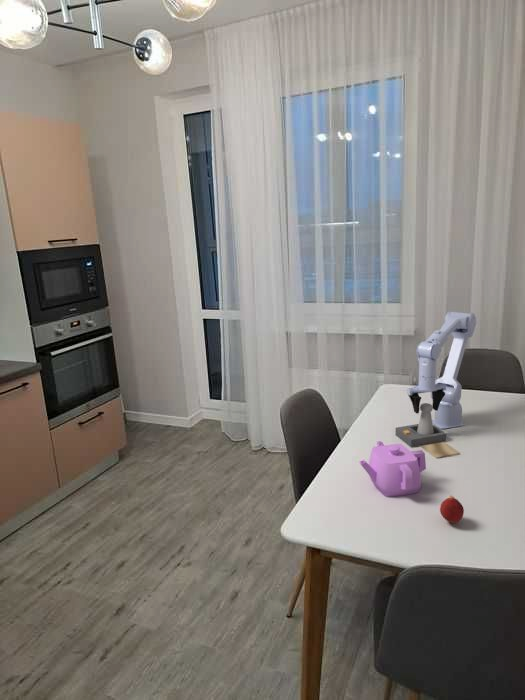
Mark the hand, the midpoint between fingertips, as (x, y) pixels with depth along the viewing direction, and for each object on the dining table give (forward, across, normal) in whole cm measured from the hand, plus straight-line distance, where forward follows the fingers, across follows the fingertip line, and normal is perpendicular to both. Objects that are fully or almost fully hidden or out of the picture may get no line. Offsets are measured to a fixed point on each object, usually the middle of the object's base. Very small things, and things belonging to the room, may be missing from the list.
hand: (425, 411), depth 177 cm
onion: (+11, +22, +47) cm, 53 cm away
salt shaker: (+11, 0, 0) cm, 11 cm away
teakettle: (+11, +27, +24) cm, 38 cm away
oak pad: (+10, +1, +11) cm, 15 cm away
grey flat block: (+10, +2, 0) cm, 11 cm away
